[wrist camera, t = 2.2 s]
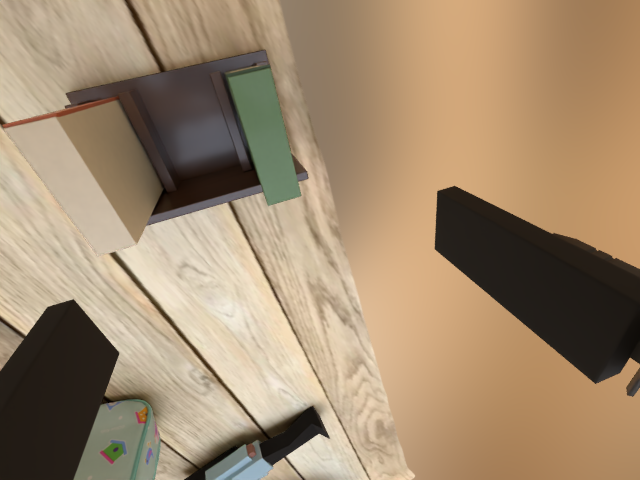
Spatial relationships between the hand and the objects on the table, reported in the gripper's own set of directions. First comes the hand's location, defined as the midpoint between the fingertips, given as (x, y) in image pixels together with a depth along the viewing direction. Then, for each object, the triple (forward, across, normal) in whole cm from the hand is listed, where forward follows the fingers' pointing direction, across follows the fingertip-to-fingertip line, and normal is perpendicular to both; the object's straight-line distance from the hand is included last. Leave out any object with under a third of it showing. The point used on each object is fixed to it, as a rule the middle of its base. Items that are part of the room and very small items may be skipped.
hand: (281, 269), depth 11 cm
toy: (+27, -16, -60) cm, 68 cm away
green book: (+25, +2, +2) cm, 26 cm away
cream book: (+25, -10, +2) cm, 27 cm away
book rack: (+27, -4, +2) cm, 27 cm away
